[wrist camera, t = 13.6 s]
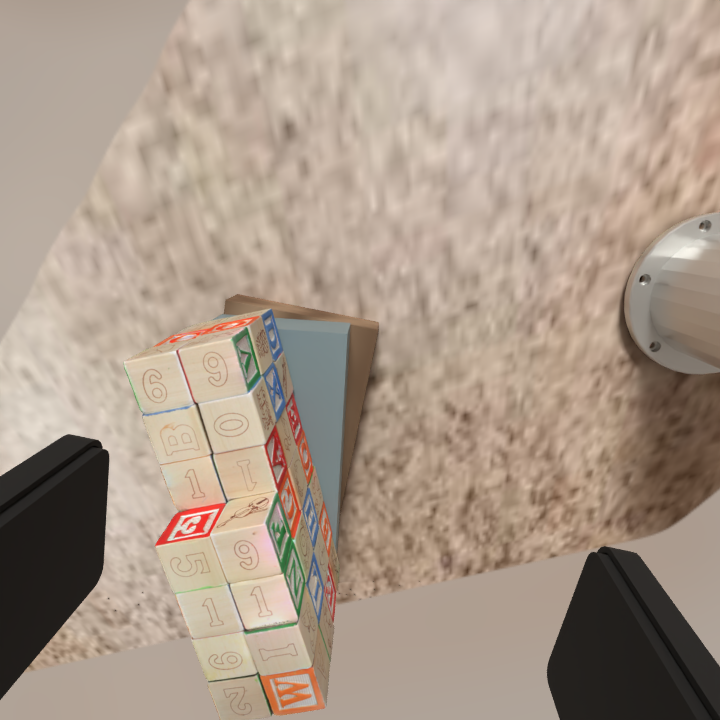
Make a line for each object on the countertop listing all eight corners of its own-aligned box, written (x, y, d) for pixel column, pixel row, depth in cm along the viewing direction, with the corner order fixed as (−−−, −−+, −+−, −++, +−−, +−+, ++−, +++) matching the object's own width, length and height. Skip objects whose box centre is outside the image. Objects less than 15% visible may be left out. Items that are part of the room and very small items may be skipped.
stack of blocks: (187, 324, 35) (87, 377, 23) (273, 305, 34) (217, 350, 22) (266, 579, 40) (219, 729, 28) (342, 567, 40) (326, 715, 28)
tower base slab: (378, 320, 42) (378, 330, 39) (333, 540, 48) (328, 567, 44) (239, 293, 42) (225, 299, 38) (210, 516, 48) (196, 542, 44)
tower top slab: (350, 322, 39) (347, 333, 35) (337, 546, 44) (333, 577, 40) (222, 314, 39) (204, 324, 35) (224, 538, 44) (209, 568, 40)
